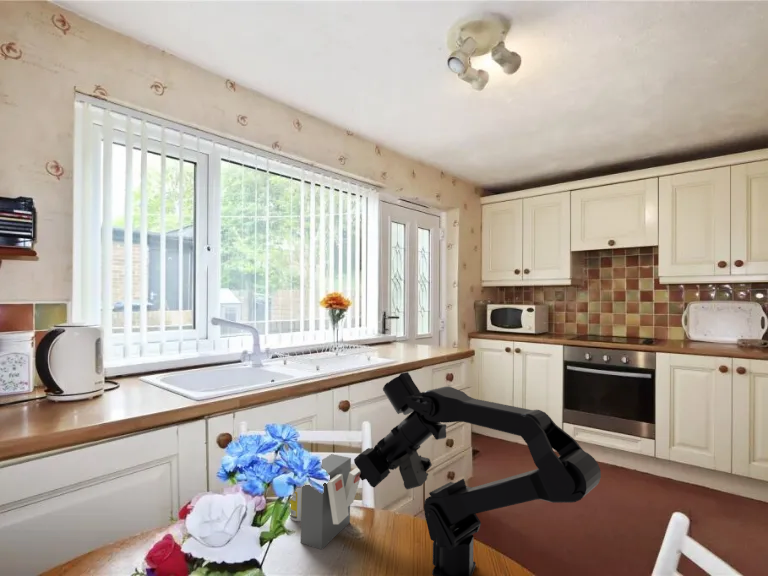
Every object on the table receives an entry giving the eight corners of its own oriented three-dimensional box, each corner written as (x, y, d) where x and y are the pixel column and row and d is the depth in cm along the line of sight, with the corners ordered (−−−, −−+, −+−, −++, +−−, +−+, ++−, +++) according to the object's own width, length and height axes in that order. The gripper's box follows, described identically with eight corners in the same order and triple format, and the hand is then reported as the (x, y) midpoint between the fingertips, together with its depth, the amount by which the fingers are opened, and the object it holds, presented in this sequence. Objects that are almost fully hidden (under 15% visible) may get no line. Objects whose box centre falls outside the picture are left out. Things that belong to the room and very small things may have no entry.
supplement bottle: (316, 510, 95) (317, 467, 96) (310, 523, 90) (311, 477, 90) (293, 509, 96) (294, 466, 96) (286, 521, 90) (287, 476, 91)
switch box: (349, 522, 90) (350, 457, 91) (321, 549, 80) (323, 476, 81) (330, 517, 93) (331, 454, 93) (300, 542, 83) (302, 472, 83)
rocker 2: (354, 502, 89) (364, 468, 88) (344, 511, 86) (355, 476, 85) (348, 499, 90) (358, 465, 89) (339, 507, 86) (349, 472, 85)
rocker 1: (349, 514, 83) (343, 474, 84) (339, 524, 80) (333, 481, 81) (343, 514, 84) (337, 474, 85) (333, 524, 80) (326, 481, 81)
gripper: (421, 486, 71) (363, 535, 76) (451, 451, 88) (403, 492, 92) (381, 433, 75) (328, 482, 79) (417, 409, 92) (372, 451, 96)
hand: (361, 477), depth 87 cm, fingers closed
